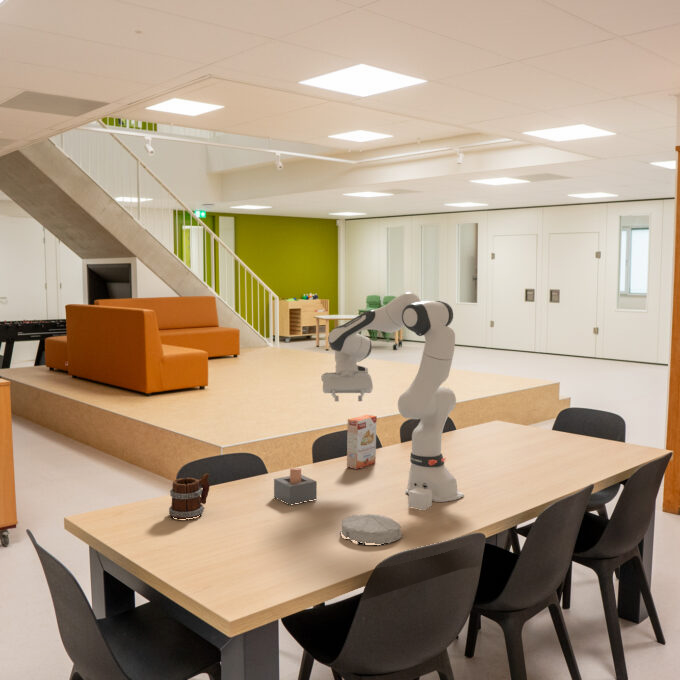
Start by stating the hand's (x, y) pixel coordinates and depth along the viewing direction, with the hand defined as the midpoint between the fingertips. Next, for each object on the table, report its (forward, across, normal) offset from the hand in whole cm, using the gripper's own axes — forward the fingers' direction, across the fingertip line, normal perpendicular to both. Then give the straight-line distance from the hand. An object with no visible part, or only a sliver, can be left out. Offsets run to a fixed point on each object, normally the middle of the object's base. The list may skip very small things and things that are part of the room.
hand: (348, 400), depth 283 cm
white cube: (+49, +22, -4) cm, 54 cm away
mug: (+50, -58, -6) cm, 77 cm away
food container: (+67, +2, -21) cm, 70 cm away
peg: (+40, -22, +3) cm, 45 cm away
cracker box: (+10, +8, +35) cm, 37 cm away
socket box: (+40, -22, +4) cm, 46 cm away
